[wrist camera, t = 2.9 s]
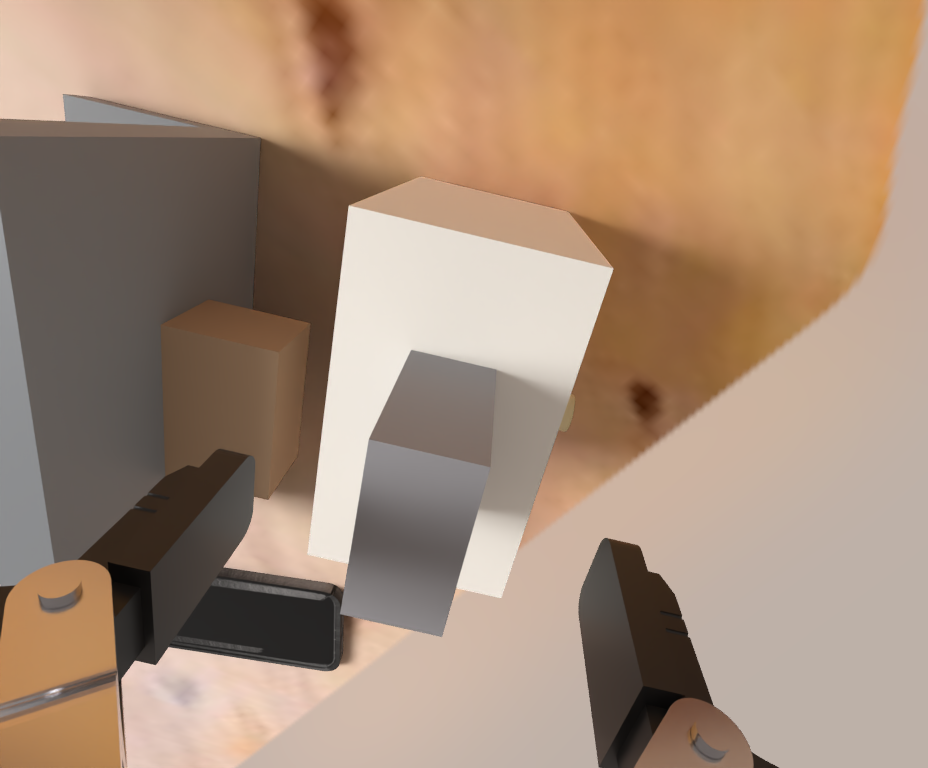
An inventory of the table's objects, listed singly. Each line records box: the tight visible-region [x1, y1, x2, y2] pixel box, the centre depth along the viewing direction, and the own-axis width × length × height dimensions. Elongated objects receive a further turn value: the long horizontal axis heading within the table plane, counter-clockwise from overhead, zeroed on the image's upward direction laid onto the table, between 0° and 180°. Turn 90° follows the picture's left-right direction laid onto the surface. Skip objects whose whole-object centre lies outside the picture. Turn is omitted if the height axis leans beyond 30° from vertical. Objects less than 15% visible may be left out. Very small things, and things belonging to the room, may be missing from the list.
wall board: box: [0, 94, 311, 586], centre depth 22 cm, size 12×20×14 cm, turn 167°
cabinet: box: [307, 176, 614, 637], centre depth 19 cm, size 8×12×17 cm, turn 167°
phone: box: [169, 568, 344, 671], centre depth 37 cm, size 8×1×15 cm
